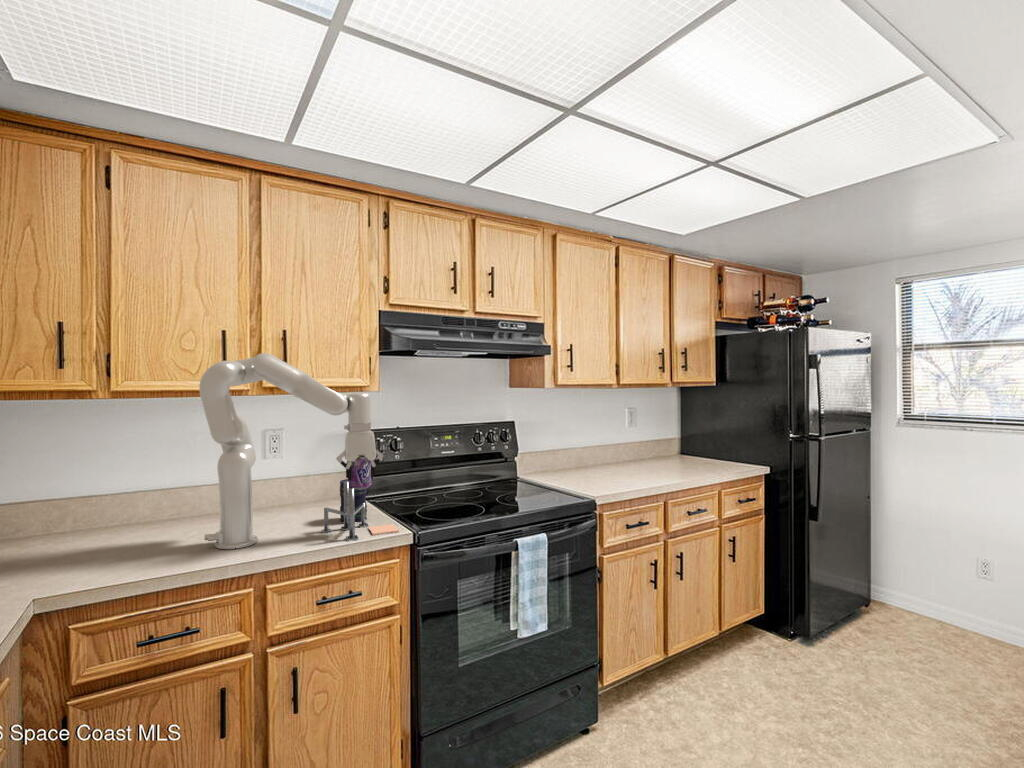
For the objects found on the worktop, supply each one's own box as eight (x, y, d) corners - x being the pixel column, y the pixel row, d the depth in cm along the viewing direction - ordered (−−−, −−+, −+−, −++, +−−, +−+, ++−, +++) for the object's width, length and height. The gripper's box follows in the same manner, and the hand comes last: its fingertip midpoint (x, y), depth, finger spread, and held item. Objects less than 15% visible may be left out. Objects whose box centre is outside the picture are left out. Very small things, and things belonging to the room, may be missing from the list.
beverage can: (351, 490, 181) (351, 455, 181) (349, 486, 188) (348, 453, 188) (372, 488, 184) (372, 454, 184) (369, 485, 191) (369, 451, 190)
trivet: (372, 535, 183) (372, 533, 183) (368, 528, 191) (368, 527, 191) (398, 532, 186) (398, 530, 186) (393, 525, 194) (393, 523, 194)
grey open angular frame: (325, 544, 174) (325, 492, 173) (321, 530, 189) (320, 482, 189) (375, 537, 180) (375, 487, 180) (367, 524, 196) (366, 478, 196)
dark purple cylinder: (351, 524, 196) (351, 484, 196) (334, 521, 201) (333, 481, 201) (372, 518, 204) (372, 480, 204) (355, 515, 210) (355, 477, 209)
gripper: (334, 430, 179) (335, 483, 179) (386, 427, 186) (387, 478, 186) (332, 428, 185) (333, 479, 186) (382, 426, 193) (383, 475, 193)
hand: (360, 478), depth 186 cm, fingers closed on beverage can, 6 cm apart
